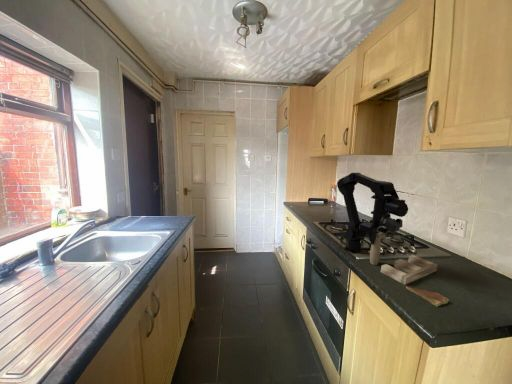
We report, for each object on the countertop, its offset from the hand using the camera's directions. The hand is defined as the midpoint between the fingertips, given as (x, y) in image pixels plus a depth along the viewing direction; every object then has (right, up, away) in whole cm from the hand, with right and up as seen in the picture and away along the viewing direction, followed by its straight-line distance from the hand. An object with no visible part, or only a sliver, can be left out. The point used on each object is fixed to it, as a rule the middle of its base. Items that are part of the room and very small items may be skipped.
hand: (376, 243), depth 98 cm
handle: (0, -10, +2) cm, 10 cm away
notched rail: (+12, -11, -4) cm, 17 cm away
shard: (+6, -15, -21) cm, 27 cm away
